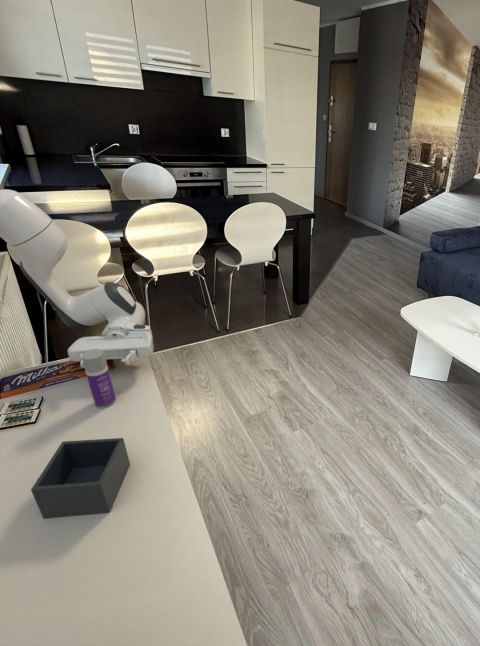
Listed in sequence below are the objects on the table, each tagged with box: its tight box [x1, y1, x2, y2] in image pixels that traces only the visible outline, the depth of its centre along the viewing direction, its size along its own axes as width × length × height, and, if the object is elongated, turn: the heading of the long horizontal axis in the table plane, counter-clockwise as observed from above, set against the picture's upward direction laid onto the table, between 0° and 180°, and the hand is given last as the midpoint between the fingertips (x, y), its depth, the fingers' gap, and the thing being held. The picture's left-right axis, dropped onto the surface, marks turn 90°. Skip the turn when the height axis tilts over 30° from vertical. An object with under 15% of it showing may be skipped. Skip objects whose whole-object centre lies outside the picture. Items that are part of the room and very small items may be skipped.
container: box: [82, 349, 117, 409], centre depth 99 cm, size 5×5×15 cm
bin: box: [30, 437, 131, 519], centre depth 78 cm, size 11×11×8 cm
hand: (104, 364), depth 103 cm, fingers open, 8 cm apart
